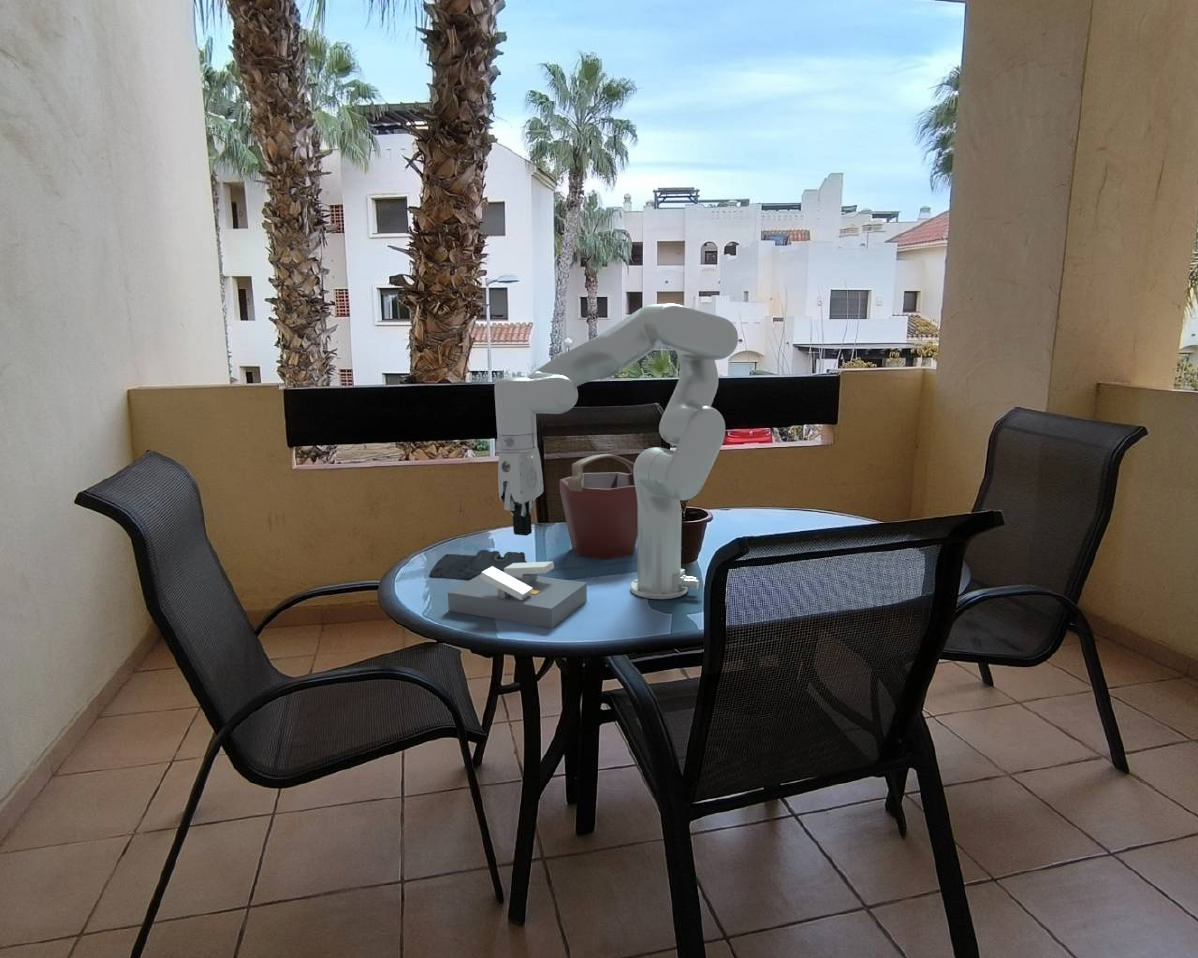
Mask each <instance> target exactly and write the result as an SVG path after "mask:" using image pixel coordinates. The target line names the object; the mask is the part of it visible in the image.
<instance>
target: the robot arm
mask: <svg viewBox="0 0 1198 958" xmlns="http://www.w3.org/2000/svg"><path fill="white" fill-rule="evenodd" d="M738 342H739V334H738V330H737V328H736V326H735V325H734V323H732V322H731V321H730V320H729V319H727V318H725V317H723V316H720V315H716V314H713V313H709V312H706V311H702V310H699V309H695V308H691V307H689V306H685V305H681V304H676V303H658V304H657V303H655V304H648V305H644V306H642V307H640V308H639V309H637V310H636V311H634V312H632V313H631V314H629V315H628V316H626V317H625V318H624V319H622V320H621V321H619V322H617V323H616V324H615V325H613V326H612V327H610V328H609V329H607V330H605V331H604V332H602V333H600V334H599V335H598V336H596V337H594V338H592V339H589V340H587V341H586V342H583V343H582V344H580V345H578V346H576V347H573V348H572V349H570V350H568V351H565V352H563V353H562V354H559V355H558V356H556V357H554V358H552V359H551V360H550V361H548V362H546V363H545V364H543V365H541V366H540V367H538V368H537V369H536V370H534V371H533V372H531V373H530V374H529V375H528V376H527V377H524V376H511V377H503V378H500V379H497V380H496V382H494V402H495V417H496V418H495V420H496V432H497V433H496V434H497V449H498V450H497V451H498V465H497V472H498V473H497V478H498V479H497V483H498V484H497V486H498V487H497V488H498V496H499V499H500V501H501V502H502V503H504V507H503V510H504V511H510V514H511V516H512V523H513V525H512V528H513V529H512V530H513V534H514V535H516V536H527V537H528V536H529V535H530V534H532V533H533V532H532V531H533V529H532V513H533V503H534V502H535V500H537V498H538V497H540V496H541V495H542V494H543V493H544V479H543V478H544V477H543V476H544V475H543V470H542V469H543V468H542V467H543V466H542V461H541V455H540V452H539V451H540V450H539V447H538V437H537V414H549V415H560V414H564V413H567V412H568V411H569V412H570V410H572V408H574V406H575V405H576V404H577V402H578V399H579V392H578V388H577V387H579V386H581V385H583V384H585V383H589V382H592V381H596V380H601V379H607V378H609V377H613V376H615V375H618V374H620V373H622V372H623V371H625V370H626V369H628V368H629V367H631V366H633V364H635V363H637V362H638V361H640V360H641V359H643V358H644V357H645V356H647V355H648V354H650V353H651V352H653V351H654V350H656V349H658V348H673V349H674V351H675V354H676V356H677V358H678V361H679V366H680V368H679V369H680V370H679V371H680V372H679V378H678V381H677V383H676V385H675V388H674V390H673V393H672V395H671V397H670V399H669V402H668V403H667V405H666V407H665V410H664V412H663V414H662V416H661V419H660V422H659V426H658V430H659V431H658V432H659V435H660V436H661V438H662V439H663V440H664V441H665V442H666V443H668V444H671V445H672V446H676V448H675V450H673V449H672V450H671V449H669V448H664V447H659V446H658V447H656V446H655V447H649V448H647V449H645V450H643V451H641V452H640V453H639V455H638V456H637V458H636V459H635V462H634V468H633V477H634V484H635V489H636V496H637V541H636V547H637V550H636V551H637V552H636V553H637V556H636V557H637V561H636V562H637V570H636V571H637V578H636V579H634V580H632V581H631V582H630V586H629V587H630V588H629V589H630V591H631V593H632V594H634V595H636V596H638V597H641V598H645V599H651V600H670V599H676V598H680V597H682V596H684V595H686V594H687V592H688V591H689V589H695V590H698V589H699V586H700V580H699V579H698V578H697V577H695V576H687V574H685V572H686V571H685V569H684V568H682V566H681V565H682V563H681V562H682V518H683V517H682V506H681V501H688V500H691V499H692V498H694V497H695V496H696V495H698V493H700V491H701V489H702V488H703V486H704V485H705V483H706V482H707V479H708V476H709V474H710V472H711V470H712V468H713V467H714V463H715V462H716V459H717V457H718V455H719V453H720V450H721V448H722V446H723V444H724V440H725V437H726V436H725V435H726V421H725V419H724V417H723V415H722V414H721V413H720V411H718V409H716V408H714V407H712V405H713V402H714V398H715V396H716V394H717V392H718V391H717V390H718V388H719V373H718V367H717V363H716V361H721V360H724V359H726V358H728V357H730V356H731V355H732V354H733V353H734V352H735V351H736V349H737V346H738Z"/></svg>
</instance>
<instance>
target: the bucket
mask: <svg viewBox="0 0 1198 958" xmlns="http://www.w3.org/2000/svg"><path fill="white" fill-rule="evenodd" d="M606 458H611V459H614V460H617V461H619V462H621V463H623V464H625V465H626V467H627V468H628V469H629V471H630V473H626V472H620V471H615V472H612V471H611V472H584V467H585V466H586V465H588V464H590V463H593V462H594V461H597V460H600V459H606ZM634 464H635V462H633V461H630V460H628V459H627V458H624V457H622V456H619V455H615V454H610V453H609V454H608V453H605V454H603V453H602V454H596V455H595V454H594V455H590V456H588V457H584V458H581V459H578V460H577V461H575V462H573V463H572V464H571V476H568V477H564V478H561V479H559V493H560V498H561V503H562V507H563V511H564V516H565V517H564V518H565V522H566V526H567V531H568V536H569V540H570V541H569V542H570V545H571V549H572V550H573V551H574V552H575V553H576V554H577V555H578V556H579V557H580V558H589V559H598V560H606V561H607V560H613V559H617V558H618V559H619V558H623V557H629V556H633V555H634V553H635V549H636V547H637V496H636V489H635V484H634V477H633V468H634ZM635 546H636V547H635Z"/></svg>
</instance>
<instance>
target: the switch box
mask: <svg viewBox="0 0 1198 958" xmlns="http://www.w3.org/2000/svg"><path fill="white" fill-rule="evenodd" d="M502 572H504V571H502ZM504 573H505V572H504ZM480 576H481V574H480V575H478V576H477V577H475V578H473V579H471V580H467V581H466V582H464V583H462V584H460V585H458V586H457V587H455V588H453V589H451V590H450V591H448V592H447V598H448V599H447V602H448V603H447V604H448V611H449V612H455V613H460V614H466V615H472V616H478V617H483V618H491V619H496V620H501V621H507V622H512V623H513V622H514V623H519V624H526V625H531V626H536V627H537V626H538V627H544V628H549V629H553V628H555V627H556V626H557V625H558V624H559V623H561V622H562V621H563V620H564V619H566V618H567V617H569V615H571V614H572V613H574V612H575V611H576V610H577V609H578V608H579V607H581V606H582V605H584V604H585V603H586V602H587V600H588V598H587V597H588V596H587V595H588V594H587V593H588V591H587V590H588V589H587V586H588V585H587V582H585V581H583V582H582V581H576V580H569V579H561V578H552V577H546V576H539V575H538V574H513V575H510V576H511V577H513V578H515V579H517V580H519V581H521V582H523V583H524V584H526V585H528V586H530V587H532V588H533V589H532V592H531V594H530V595H529V596H527V597H526V598H524V599H523V600H519V599H518V598H516V597H514V596H512V595H510V594H508V593H507V592H505V591H503V590H501V589H499V588H497V587H496V586H494V585H492V584H490V583H488V582H486V581H485V580H483V579H481V578H480Z"/></svg>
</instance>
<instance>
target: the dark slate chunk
mask: <svg viewBox="0 0 1198 958" xmlns="http://www.w3.org/2000/svg"><path fill="white" fill-rule="evenodd" d="M513 563H528V561H526V555H525V552H523V551H521V552H518V551H507V552H506V553H504V555H503V556H501V554H500V551H498V550H493V551H489V550H487V549H481V550H479V551H477V553H476V555H473V554H472V555H471V554H458V553H457V554H455V553H447V554H444V555H443V556H442V557H441V558H440V559H438V560H437V561H436V563H435V565H433V568H432V569H431V570H430V572H429V578H432V579H446V580H457V581H458V580H459V581H469V580H471V579H473V578H475V577H477V576H478V575H480V574H481V573H482V572H483V571H484V570H486V569H488V568H490V567H492V566H493V567H495V568H497V569H498V570H500V571H504V568H506V567H507V566H509V565H511V564H513Z"/></svg>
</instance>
